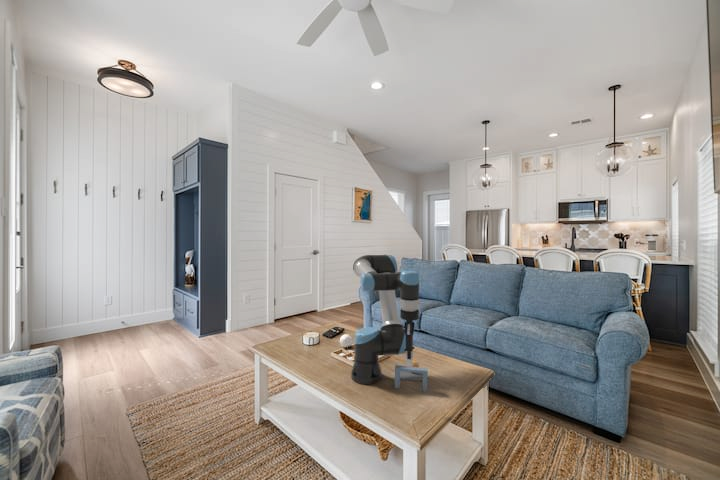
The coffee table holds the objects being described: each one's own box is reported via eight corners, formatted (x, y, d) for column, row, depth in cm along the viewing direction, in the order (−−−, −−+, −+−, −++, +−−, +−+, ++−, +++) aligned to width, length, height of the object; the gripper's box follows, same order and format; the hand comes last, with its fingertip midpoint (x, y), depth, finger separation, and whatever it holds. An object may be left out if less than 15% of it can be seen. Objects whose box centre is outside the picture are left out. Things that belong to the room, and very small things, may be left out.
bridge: (427, 391, 138) (427, 371, 138) (394, 387, 141) (394, 368, 141) (427, 388, 141) (427, 368, 141) (395, 384, 144) (395, 365, 144)
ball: (408, 372, 159) (407, 371, 154) (408, 360, 161) (407, 359, 156) (419, 373, 158) (418, 372, 153) (419, 361, 160) (418, 360, 155)
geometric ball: (342, 351, 190) (335, 341, 190) (349, 343, 196) (342, 333, 196) (350, 348, 185) (342, 338, 185) (357, 340, 191) (349, 330, 191)
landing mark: (398, 378, 150) (398, 378, 150) (400, 366, 162) (400, 366, 162) (425, 381, 147) (425, 381, 147) (426, 369, 160) (426, 369, 160)
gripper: (418, 313, 120) (417, 373, 121) (419, 305, 132) (419, 359, 133) (398, 312, 121) (398, 371, 122) (401, 304, 134) (401, 358, 135)
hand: (409, 365), depth 128 cm, fingers closed
